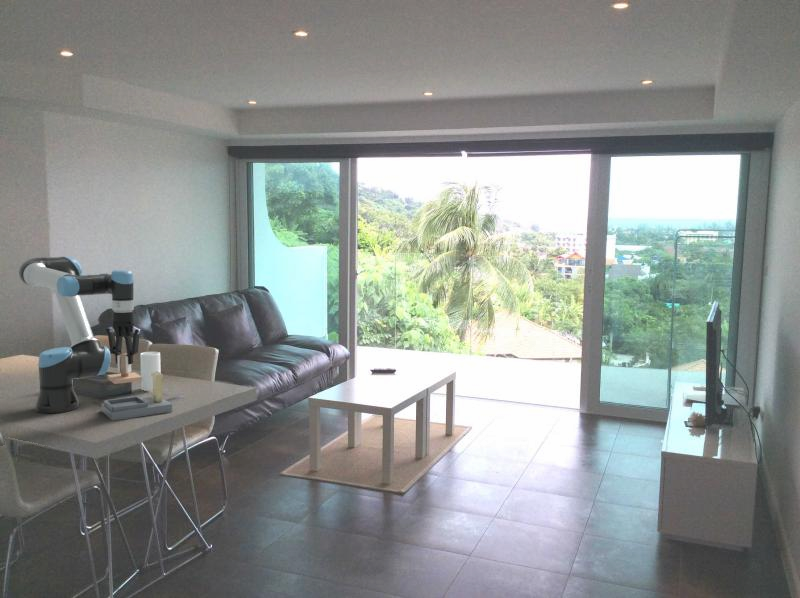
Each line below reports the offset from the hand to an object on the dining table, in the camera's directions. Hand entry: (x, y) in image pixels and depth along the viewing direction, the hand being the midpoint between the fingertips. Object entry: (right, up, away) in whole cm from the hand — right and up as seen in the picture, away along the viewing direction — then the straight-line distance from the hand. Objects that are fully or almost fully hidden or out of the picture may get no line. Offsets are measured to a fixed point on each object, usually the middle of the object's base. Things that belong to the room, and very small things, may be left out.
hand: (124, 372), depth 258 cm
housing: (+3, -16, +4) cm, 16 cm away
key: (+8, -12, +11) cm, 18 cm away
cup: (-5, -12, +41) cm, 43 cm away
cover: (0, -3, 0) cm, 3 cm away
